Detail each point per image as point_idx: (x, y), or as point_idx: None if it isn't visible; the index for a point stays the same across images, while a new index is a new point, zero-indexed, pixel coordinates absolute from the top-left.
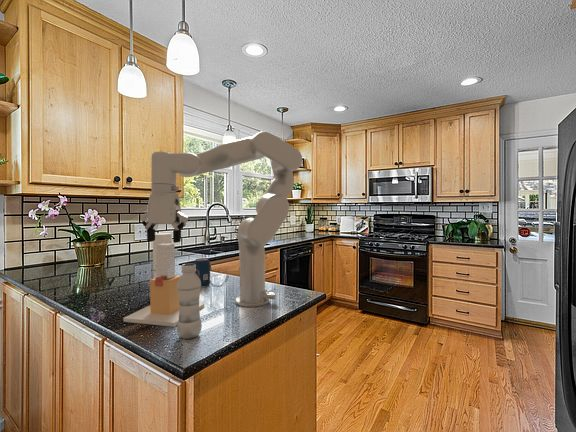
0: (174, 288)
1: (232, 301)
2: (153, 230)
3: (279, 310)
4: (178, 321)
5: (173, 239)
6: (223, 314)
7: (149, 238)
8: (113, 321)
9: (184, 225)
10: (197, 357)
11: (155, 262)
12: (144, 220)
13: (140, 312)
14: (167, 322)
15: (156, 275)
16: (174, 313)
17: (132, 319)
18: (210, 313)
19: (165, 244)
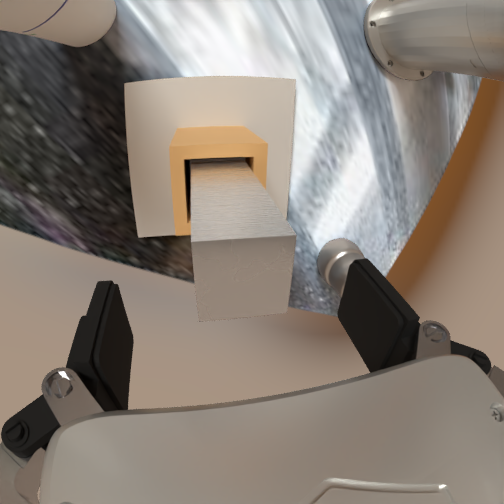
0: None
1: (353, 29)
2: (106, 370)
3: (457, 100)
4: (329, 282)
5: (347, 328)
6: (364, 130)
7: (130, 352)
8: (115, 237)
9: (470, 355)
10: None
11: (13, 30)
12: (33, 474)
13: (148, 194)
14: None
15: (47, 36)
16: None
17: (165, 234)
18: (331, 127)
19: (257, 295)
